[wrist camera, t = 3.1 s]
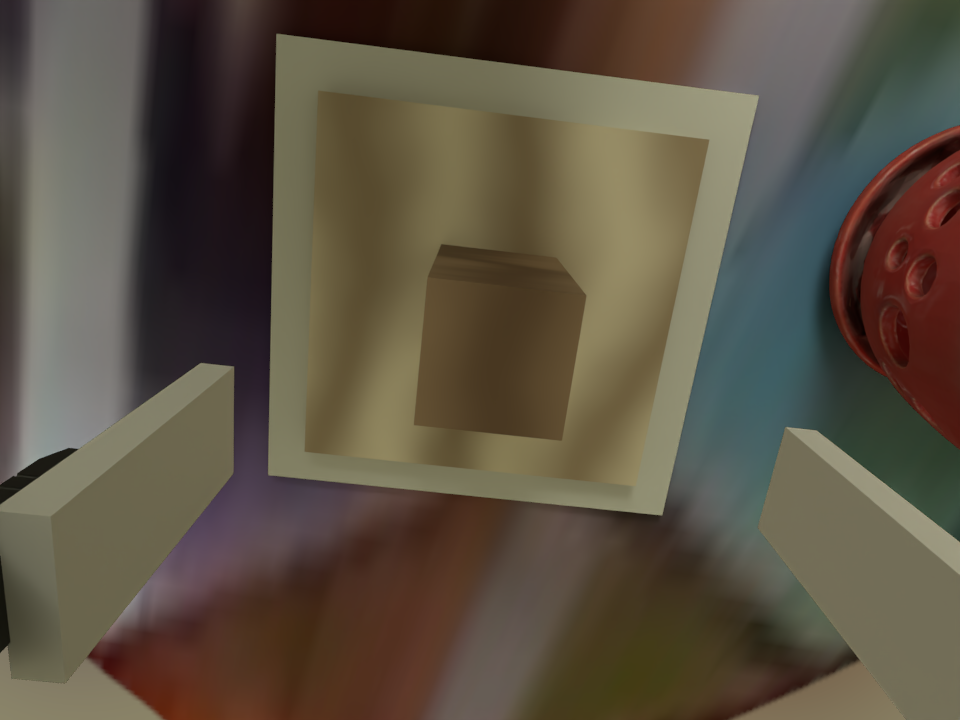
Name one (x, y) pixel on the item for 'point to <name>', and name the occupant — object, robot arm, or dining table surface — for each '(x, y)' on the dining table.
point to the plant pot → (907, 278)
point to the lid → (491, 286)
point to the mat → (513, 93)
